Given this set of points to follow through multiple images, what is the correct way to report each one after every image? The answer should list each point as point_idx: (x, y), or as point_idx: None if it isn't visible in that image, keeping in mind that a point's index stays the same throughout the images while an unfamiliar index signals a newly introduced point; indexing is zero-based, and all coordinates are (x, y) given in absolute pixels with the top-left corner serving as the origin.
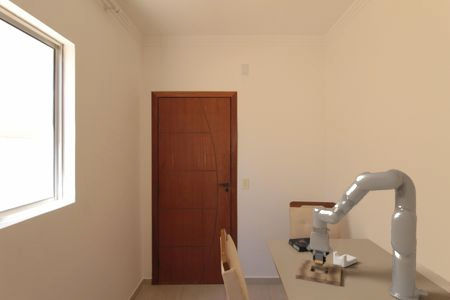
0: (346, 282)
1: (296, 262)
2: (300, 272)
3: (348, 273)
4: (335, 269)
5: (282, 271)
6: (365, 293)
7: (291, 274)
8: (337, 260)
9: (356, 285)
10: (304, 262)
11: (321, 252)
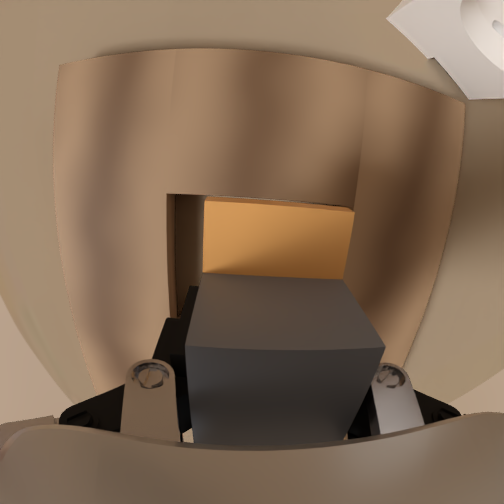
0: (426, 334)
1: (36, 99)
2: (110, 369)
3: (477, 188)
4: (414, 219)
5: (11, 311)
6: (456, 390)
7: (64, 340)
8: (451, 39)
9: (459, 343)
10: (84, 142)
11: (320, 411)
